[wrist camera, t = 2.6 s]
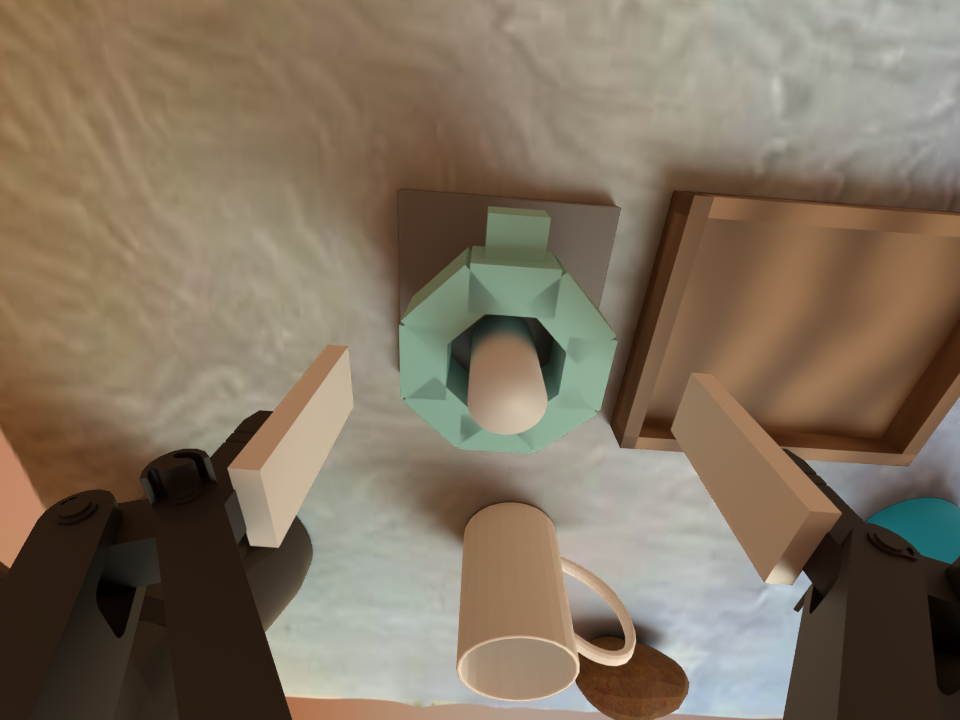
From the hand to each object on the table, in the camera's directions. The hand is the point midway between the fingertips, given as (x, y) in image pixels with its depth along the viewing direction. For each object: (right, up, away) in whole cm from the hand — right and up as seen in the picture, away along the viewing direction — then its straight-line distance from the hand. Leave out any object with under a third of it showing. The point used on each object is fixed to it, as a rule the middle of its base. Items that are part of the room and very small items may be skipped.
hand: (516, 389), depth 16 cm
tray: (+19, +3, +10) cm, 22 cm away
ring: (0, +2, +4) cm, 5 cm away
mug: (+3, -14, +20) cm, 24 cm away
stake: (0, +5, +10) cm, 11 cm away
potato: (+13, -28, +27) cm, 42 cm away
